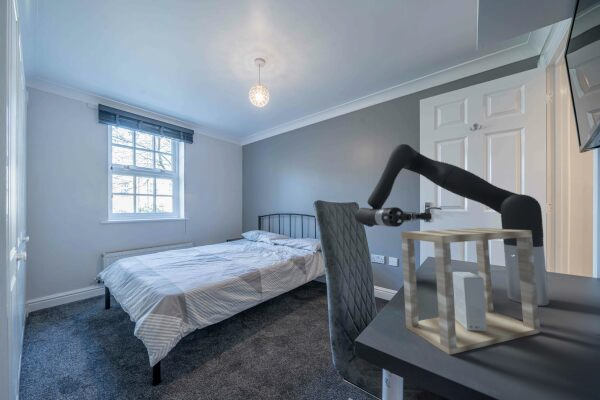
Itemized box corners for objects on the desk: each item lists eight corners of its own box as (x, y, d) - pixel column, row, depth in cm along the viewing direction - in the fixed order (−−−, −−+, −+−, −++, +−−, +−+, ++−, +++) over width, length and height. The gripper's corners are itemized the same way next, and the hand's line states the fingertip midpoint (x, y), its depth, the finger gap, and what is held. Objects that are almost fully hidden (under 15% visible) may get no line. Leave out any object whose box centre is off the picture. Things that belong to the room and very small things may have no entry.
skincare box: (488, 332, 53) (484, 278, 54) (467, 330, 54) (463, 277, 54) (473, 320, 59) (469, 271, 60) (454, 319, 60) (451, 271, 60)
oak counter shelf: (486, 312, 65) (479, 228, 67) (540, 332, 54) (531, 230, 55) (406, 327, 58) (401, 232, 59) (449, 354, 46) (441, 235, 48)
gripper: (373, 208, 92) (402, 205, 76) (403, 207, 96) (436, 205, 80) (374, 227, 91) (403, 228, 76) (404, 225, 95) (438, 226, 80)
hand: (420, 216), depth 78 cm, fingers open, 8 cm apart
